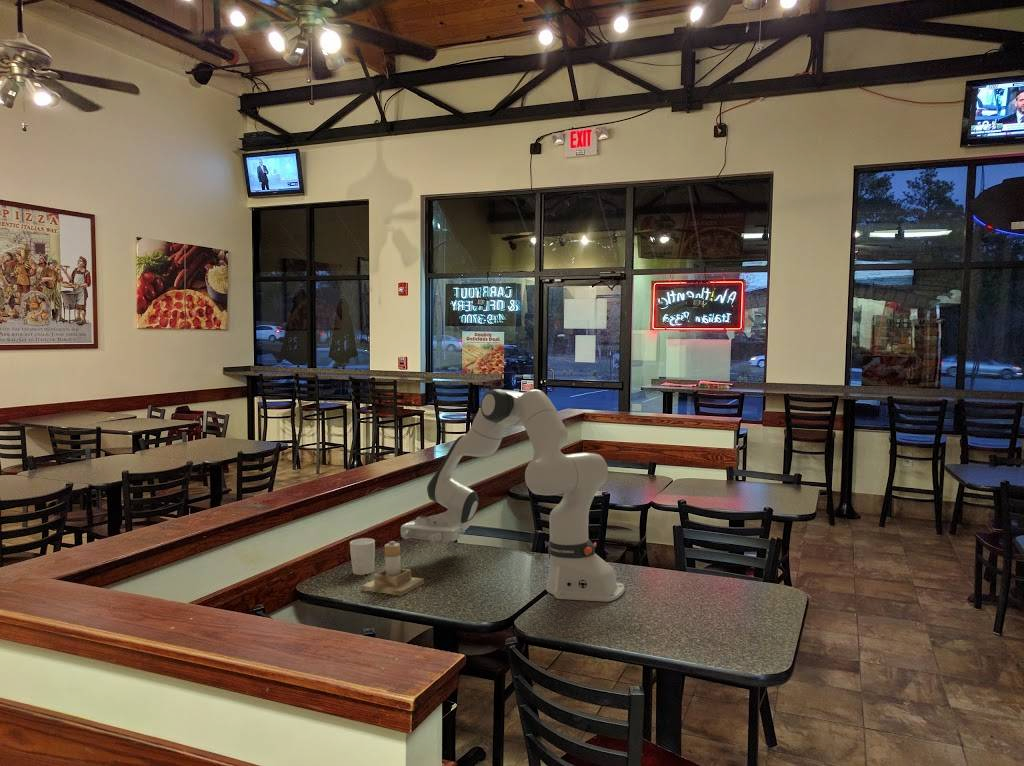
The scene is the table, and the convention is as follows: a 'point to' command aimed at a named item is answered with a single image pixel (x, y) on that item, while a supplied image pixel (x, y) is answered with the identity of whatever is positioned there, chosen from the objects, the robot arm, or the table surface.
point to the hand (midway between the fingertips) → (417, 537)
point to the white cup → (362, 555)
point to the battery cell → (392, 559)
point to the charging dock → (393, 583)
